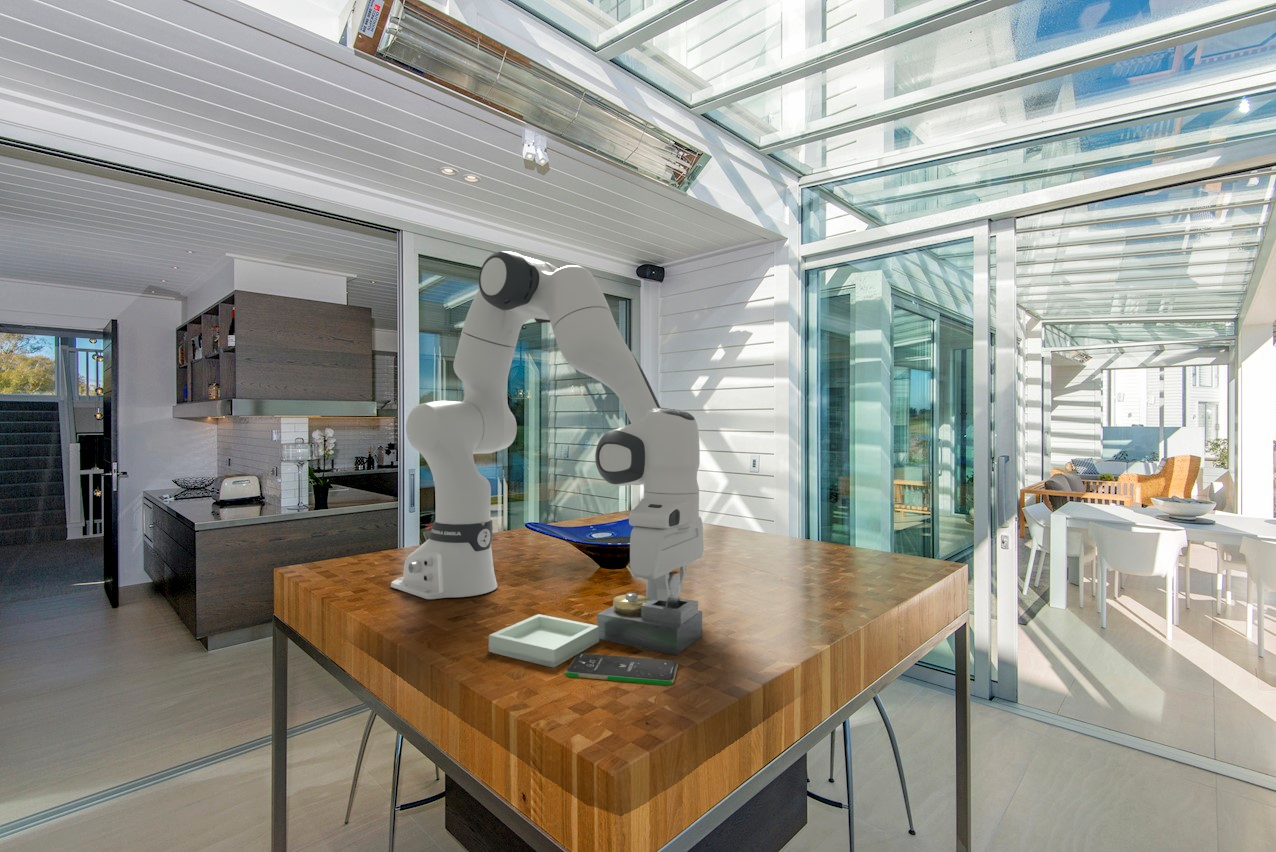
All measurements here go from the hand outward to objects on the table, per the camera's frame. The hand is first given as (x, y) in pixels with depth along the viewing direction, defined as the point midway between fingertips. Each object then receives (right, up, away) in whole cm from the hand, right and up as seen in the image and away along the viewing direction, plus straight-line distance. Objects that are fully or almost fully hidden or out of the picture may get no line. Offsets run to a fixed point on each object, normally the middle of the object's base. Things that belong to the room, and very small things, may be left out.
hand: (669, 596), depth 95 cm
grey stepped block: (-3, -7, +2) cm, 8 cm away
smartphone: (-7, -8, -12) cm, 16 cm away
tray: (-19, -7, -3) cm, 21 cm away
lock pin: (0, -3, 0) cm, 3 cm away
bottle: (0, -7, +15) cm, 17 cm away
